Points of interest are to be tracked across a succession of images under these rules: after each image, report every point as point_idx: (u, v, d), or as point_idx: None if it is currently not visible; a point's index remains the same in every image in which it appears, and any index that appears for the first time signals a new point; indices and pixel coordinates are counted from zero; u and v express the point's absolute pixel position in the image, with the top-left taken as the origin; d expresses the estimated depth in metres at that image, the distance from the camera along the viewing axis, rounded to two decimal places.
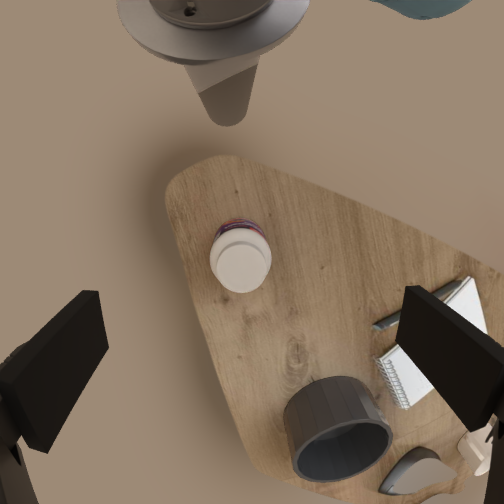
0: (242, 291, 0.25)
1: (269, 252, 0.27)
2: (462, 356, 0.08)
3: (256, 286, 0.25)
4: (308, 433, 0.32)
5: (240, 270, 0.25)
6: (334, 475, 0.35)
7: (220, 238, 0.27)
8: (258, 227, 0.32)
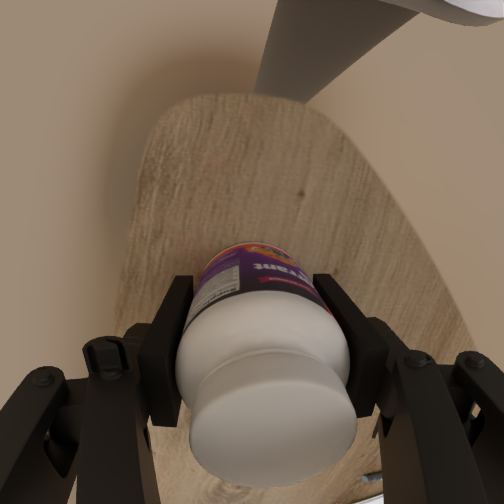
0: (240, 483, 0.07)
1: None
2: None
3: (285, 484, 0.07)
4: None
5: (269, 447, 0.06)
6: None
7: (245, 306, 0.08)
8: None
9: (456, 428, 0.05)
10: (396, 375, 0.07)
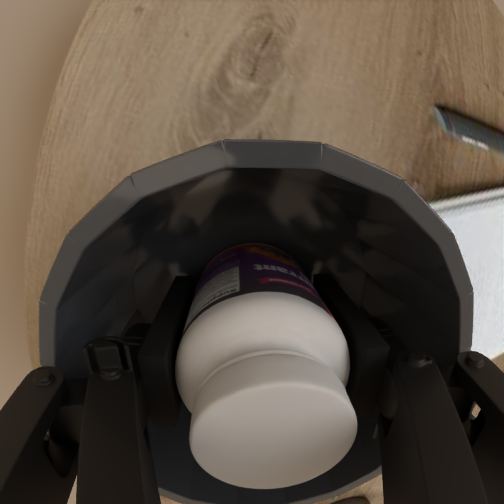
0: (240, 484, 0.07)
1: None
2: None
3: (285, 485, 0.07)
4: None
5: (269, 449, 0.06)
6: (186, 482, 0.10)
7: (245, 307, 0.08)
8: None
9: (456, 428, 0.05)
10: (396, 375, 0.07)
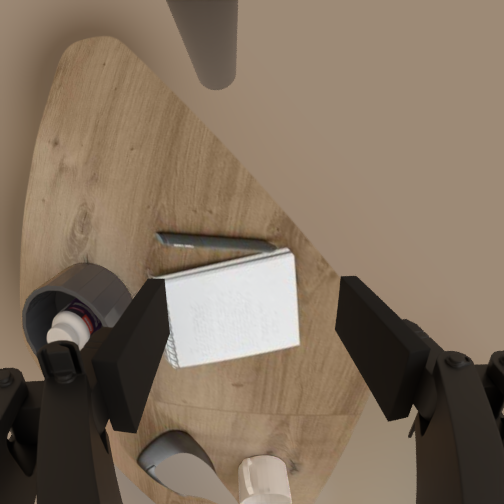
0: None
1: (87, 339, 0.33)
2: (380, 343, 0.10)
3: None
4: (42, 285, 0.31)
5: None
6: None
7: (61, 314, 0.32)
8: None
9: (491, 427, 0.04)
10: (437, 375, 0.07)
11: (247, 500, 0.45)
